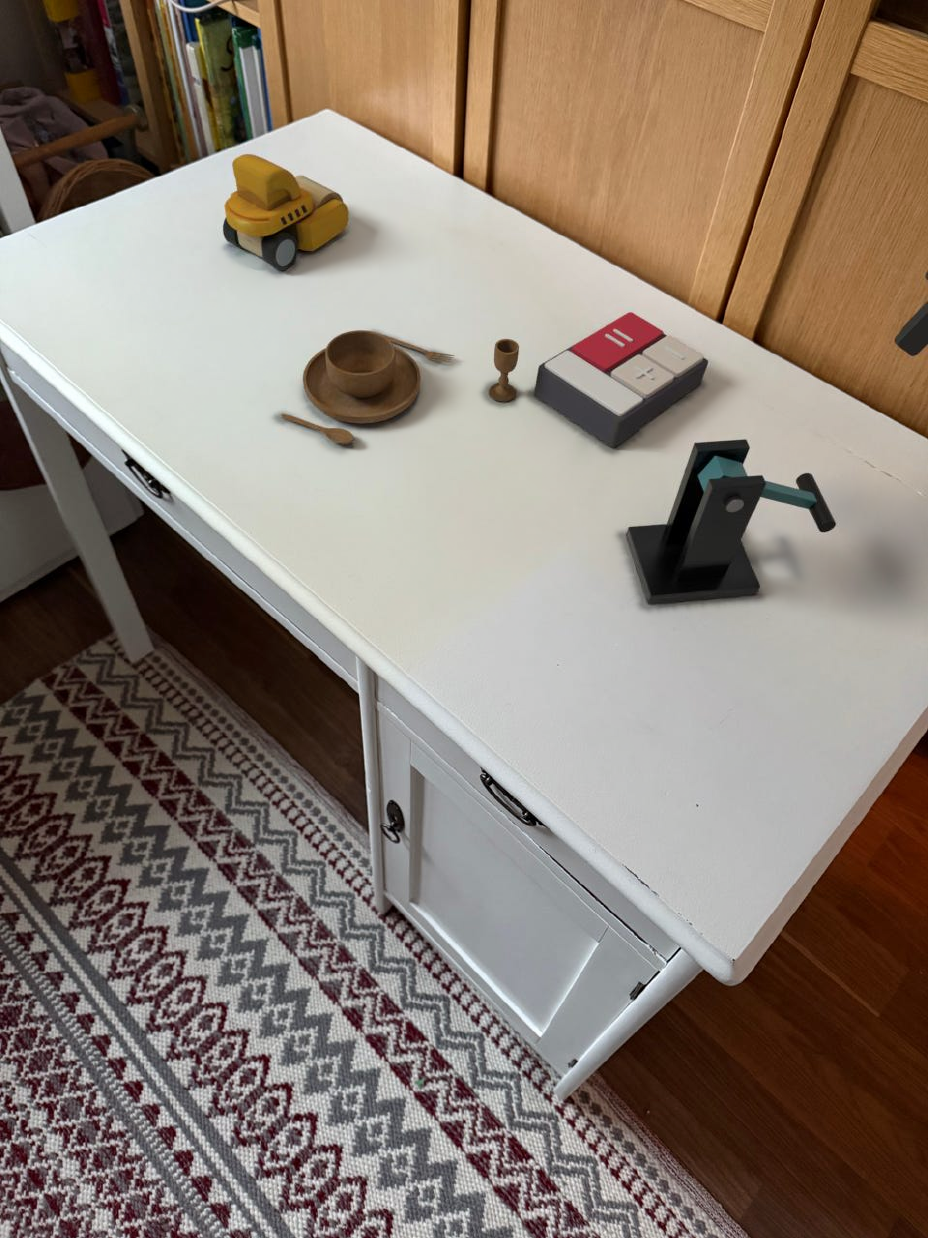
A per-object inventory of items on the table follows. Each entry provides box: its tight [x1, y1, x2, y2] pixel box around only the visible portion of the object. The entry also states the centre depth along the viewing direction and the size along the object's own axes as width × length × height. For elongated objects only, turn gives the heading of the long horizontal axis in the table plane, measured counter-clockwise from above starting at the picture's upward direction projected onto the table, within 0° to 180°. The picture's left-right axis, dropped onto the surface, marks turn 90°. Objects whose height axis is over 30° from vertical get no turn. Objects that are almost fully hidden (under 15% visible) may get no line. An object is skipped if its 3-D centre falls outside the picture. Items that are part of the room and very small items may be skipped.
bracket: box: [625, 438, 766, 605], centre depth 77 cm, size 10×8×13 cm
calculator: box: [533, 311, 709, 448], centre depth 94 cm, size 11×4×15 cm
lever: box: [698, 456, 837, 533], centre depth 75 cm, size 12×6×2 cm, turn 99°
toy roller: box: [222, 153, 350, 271], centre depth 104 cm, size 9×14×10 cm, turn 142°
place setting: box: [280, 329, 520, 445], centre depth 90 cm, size 18×20×6 cm
